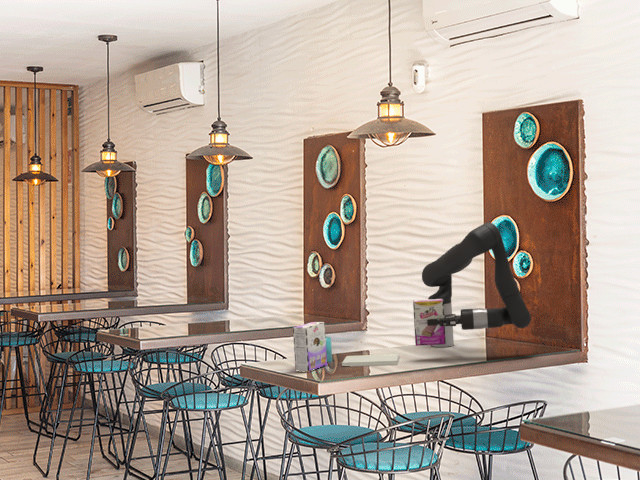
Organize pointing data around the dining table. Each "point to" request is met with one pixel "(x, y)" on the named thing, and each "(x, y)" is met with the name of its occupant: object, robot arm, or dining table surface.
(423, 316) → the candy bar box
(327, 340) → the teal rounded cylinder
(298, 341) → the candy box
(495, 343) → the dining table surface
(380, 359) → the plain white board
